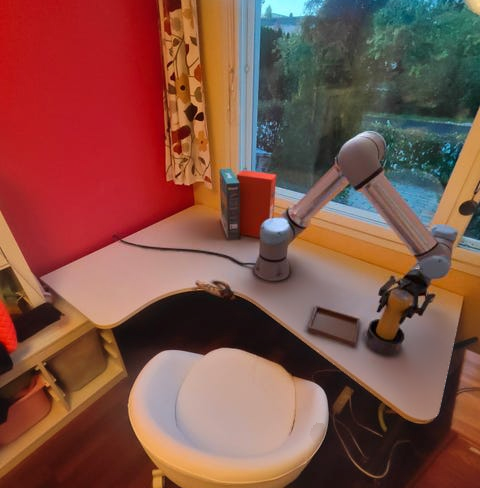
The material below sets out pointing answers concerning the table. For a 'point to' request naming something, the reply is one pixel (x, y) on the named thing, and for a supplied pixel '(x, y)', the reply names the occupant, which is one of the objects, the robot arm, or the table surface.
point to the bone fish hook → (217, 289)
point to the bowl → (383, 340)
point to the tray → (334, 325)
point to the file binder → (255, 201)
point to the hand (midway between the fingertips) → (390, 314)
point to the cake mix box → (229, 203)
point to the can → (393, 313)
